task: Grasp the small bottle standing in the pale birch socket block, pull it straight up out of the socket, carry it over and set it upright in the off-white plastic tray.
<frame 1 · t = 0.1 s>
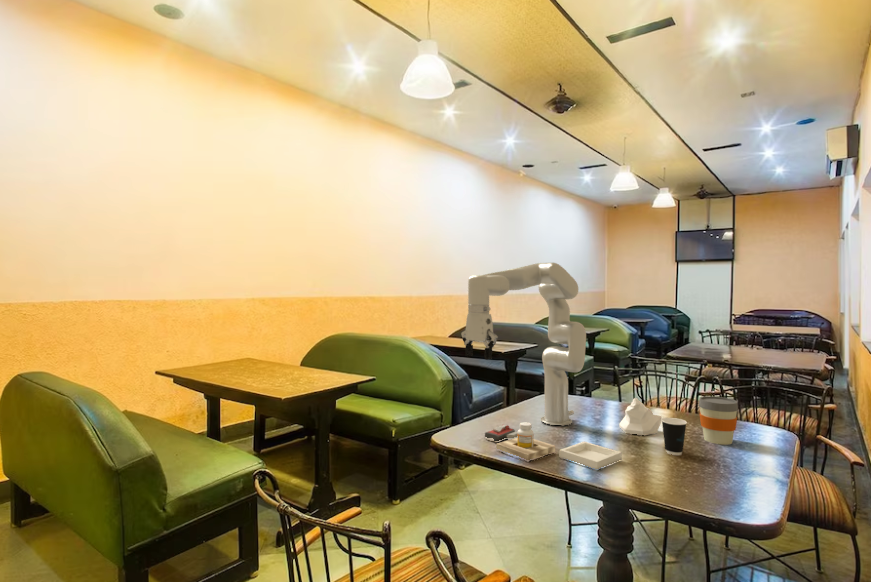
hand: (478, 357, 171), 31 cm above the table, tool pointing down, fingers open, 9 cm apart
socket block: (525, 452, 163), on the table
tray: (590, 459, 156), on the table
dixie cup: (673, 453, 163), on the table
reusable coffee cup: (717, 441, 176), on the table
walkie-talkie: (506, 438, 181), on the table
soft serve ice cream: (638, 432, 187), on the table
supplement bottle: (525, 452, 163), resting in socket block
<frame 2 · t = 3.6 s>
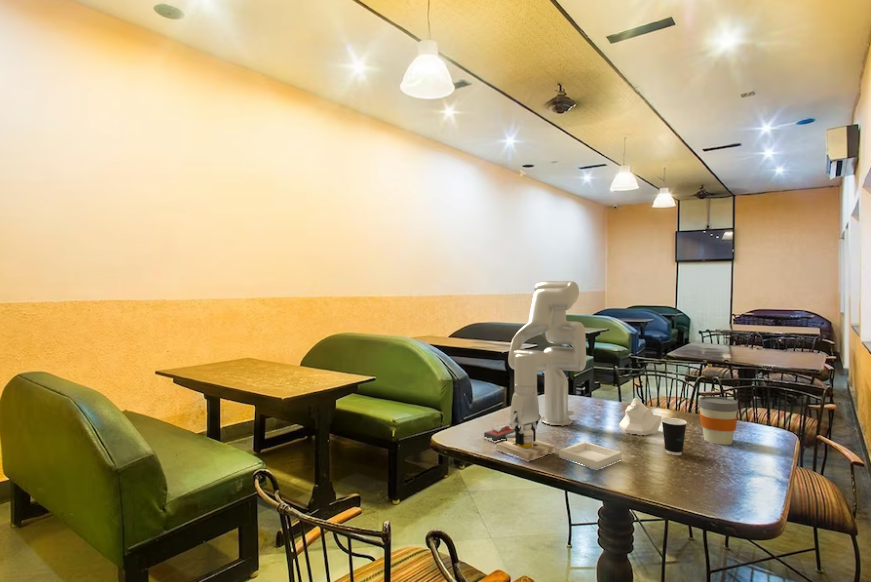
hand: (525, 441, 163), 4 cm above the table, tool pointing down, fingers closed on supplement bottle, 5 cm apart
supplement bottle: (525, 452, 163), resting in socket block, touching gripper
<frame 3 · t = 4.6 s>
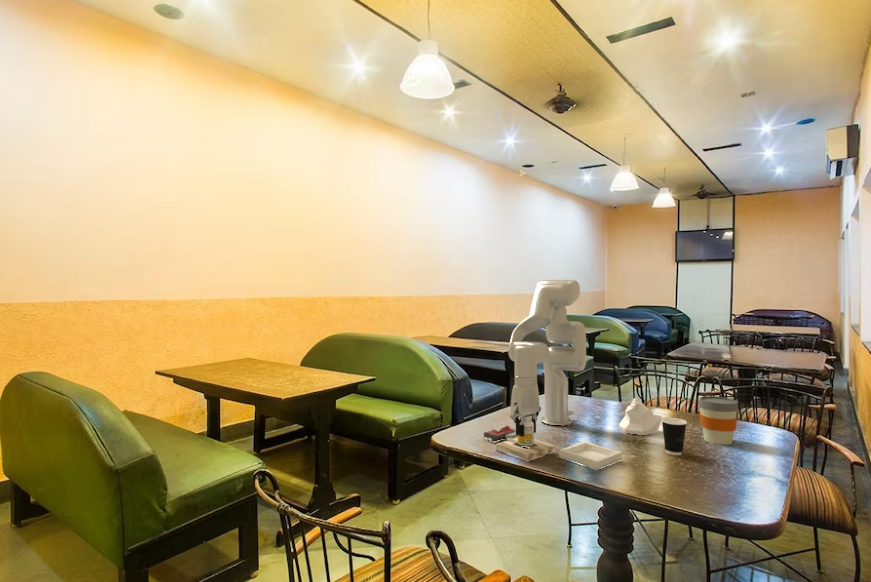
hand: (525, 433, 164), 6 cm above the table, tool pointing down, fingers closed on supplement bottle, 5 cm apart
supplement bottle: (525, 444, 164), point 3 cm above the table, touching gripper
everything else where it was.
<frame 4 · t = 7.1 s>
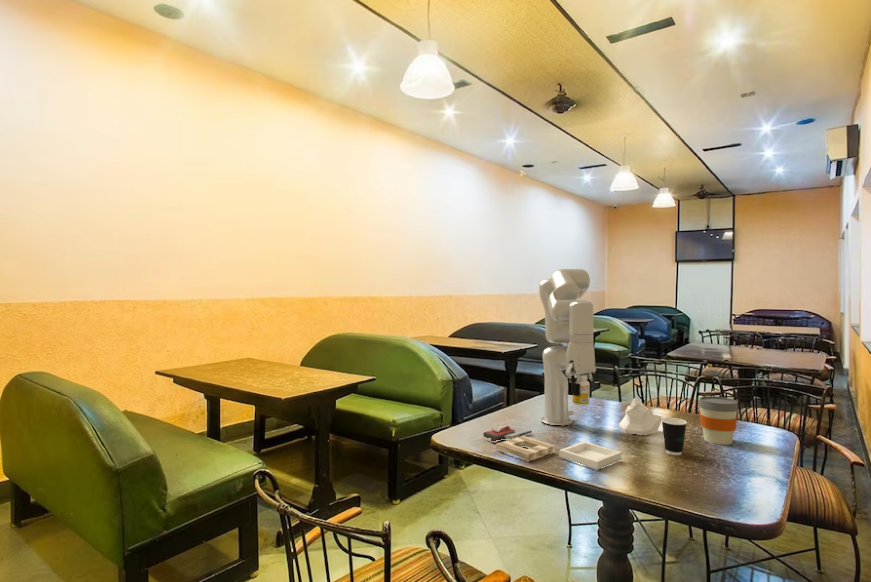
hand: (581, 393, 157), 21 cm above the table, tool pointing down, fingers closed on supplement bottle, 5 cm apart
supplement bottle: (581, 404, 157), point 18 cm above the table, touching gripper
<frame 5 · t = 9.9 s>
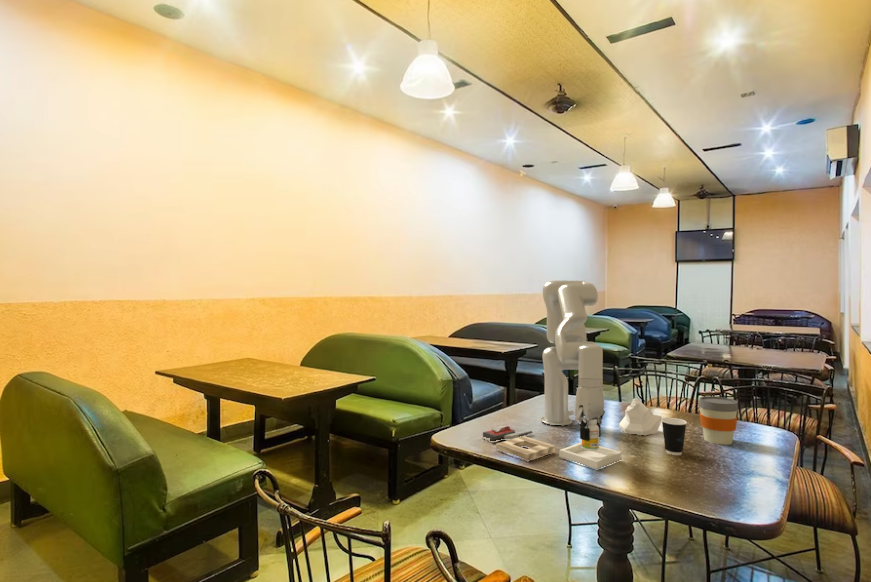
hand: (590, 437, 156), 7 cm above the table, tool pointing down, fingers closed on supplement bottle, 5 cm apart
supplement bottle: (590, 448, 156), point 4 cm above the table, touching gripper
when the fingers open (6 cm above the table, at t = 10.7 s): supplement bottle drops 1 cm, resting on tray.
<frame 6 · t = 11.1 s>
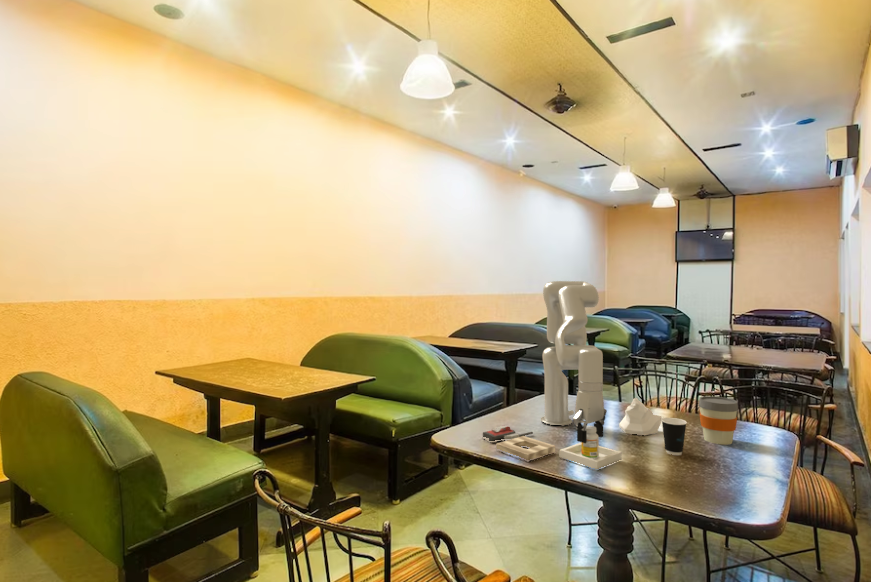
hand: (590, 439, 156), 7 cm above the table, tool pointing down, fingers open, 9 cm apart
supplement bottle: (590, 457, 156), point 1 cm above the table, touching tray
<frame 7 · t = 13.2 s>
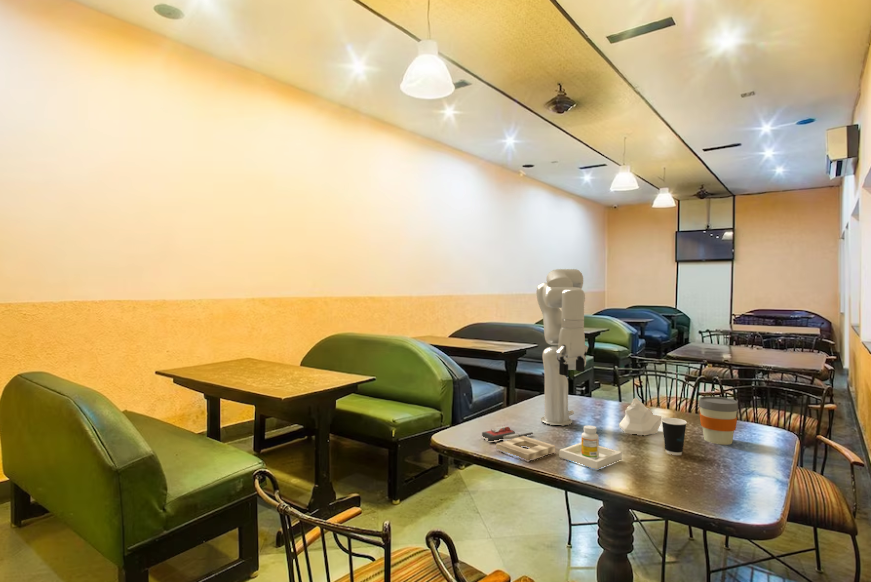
hand: (572, 373, 167), 26 cm above the table, tool pointing down, fingers open, 9 cm apart
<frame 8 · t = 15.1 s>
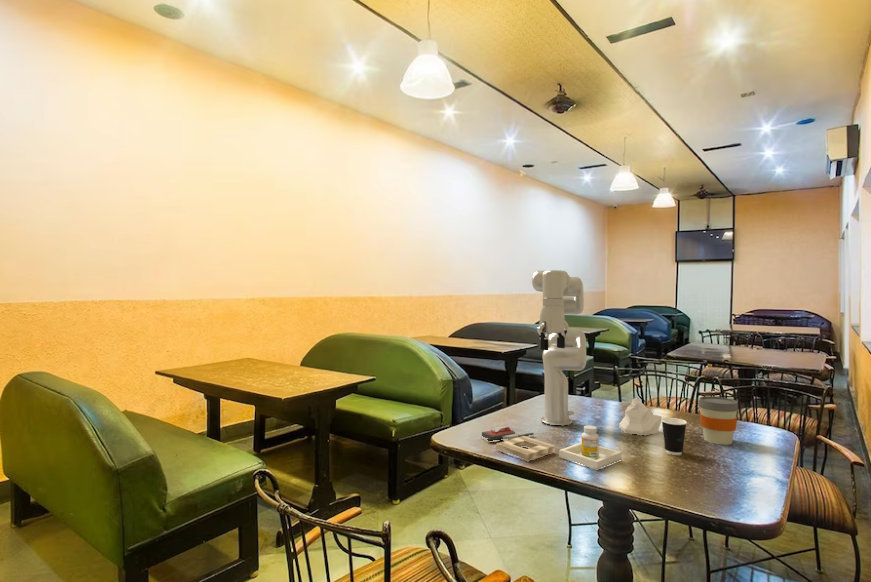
hand: (552, 349, 179), 33 cm above the table, tool pointing down, fingers open, 9 cm apart
at the end: supplement bottle inside the target area on the tray (0.3 cm from its centre), point 0.6 cm above the tray's base; supplement bottle tilted 1°; the gripper is holding nothing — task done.
